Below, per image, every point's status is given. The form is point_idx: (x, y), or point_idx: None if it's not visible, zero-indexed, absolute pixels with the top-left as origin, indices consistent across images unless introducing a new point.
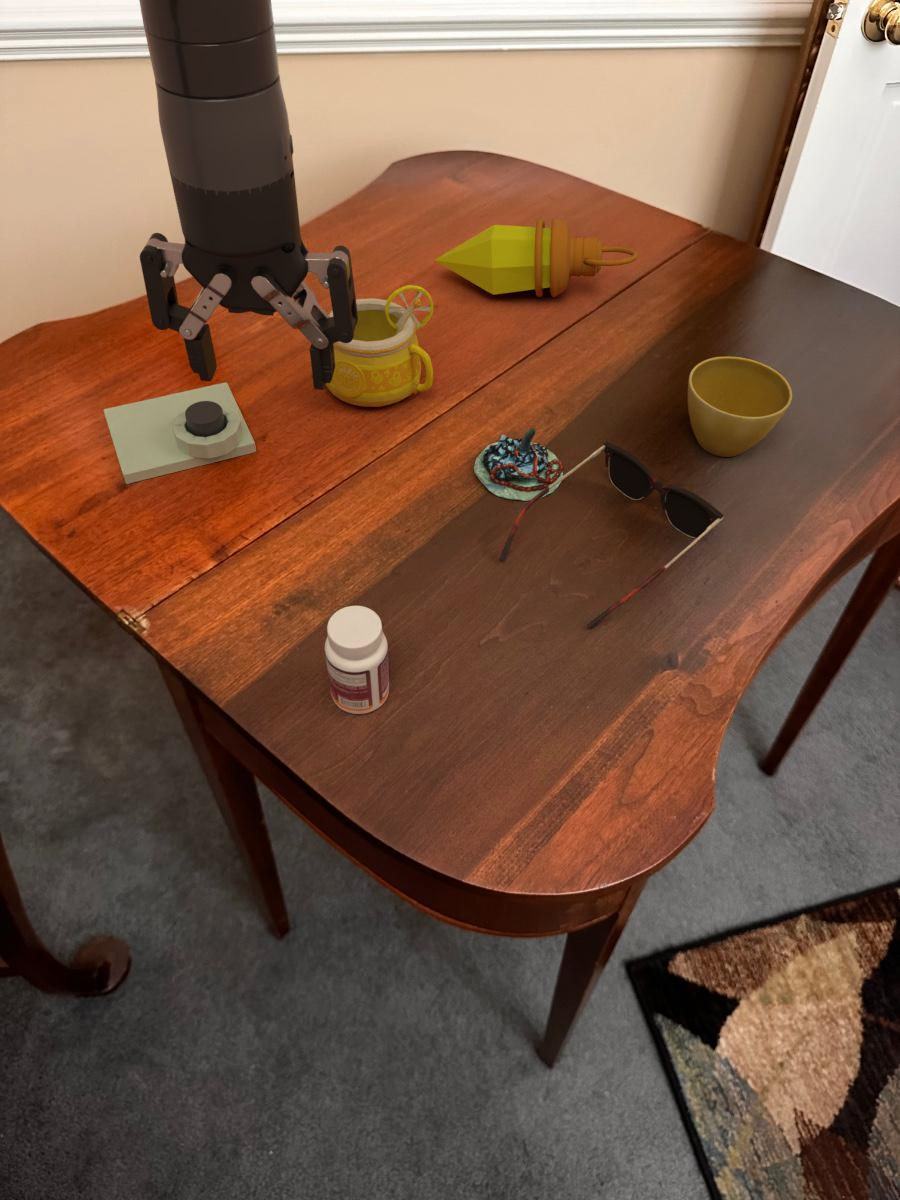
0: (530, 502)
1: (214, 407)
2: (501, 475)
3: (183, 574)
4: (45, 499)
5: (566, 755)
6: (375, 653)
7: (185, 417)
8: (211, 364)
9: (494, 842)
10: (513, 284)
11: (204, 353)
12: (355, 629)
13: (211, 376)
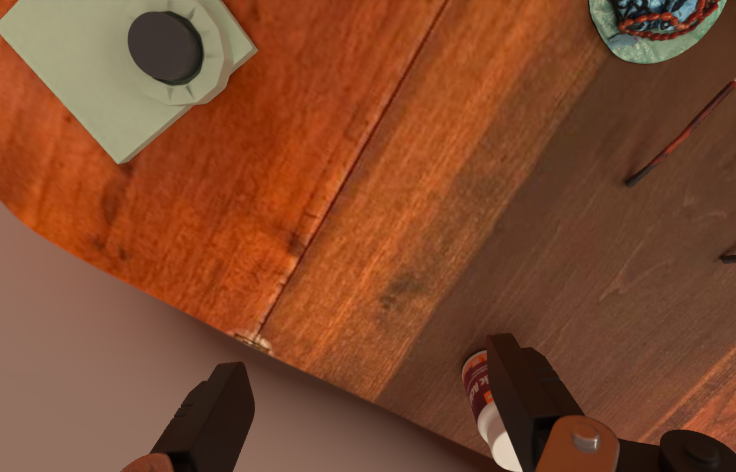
0: (700, 118)
1: (168, 27)
2: (641, 29)
3: (270, 281)
4: (54, 210)
5: (675, 392)
6: None
7: None
8: (240, 405)
9: None
10: None
11: (228, 469)
12: None
13: (250, 399)
